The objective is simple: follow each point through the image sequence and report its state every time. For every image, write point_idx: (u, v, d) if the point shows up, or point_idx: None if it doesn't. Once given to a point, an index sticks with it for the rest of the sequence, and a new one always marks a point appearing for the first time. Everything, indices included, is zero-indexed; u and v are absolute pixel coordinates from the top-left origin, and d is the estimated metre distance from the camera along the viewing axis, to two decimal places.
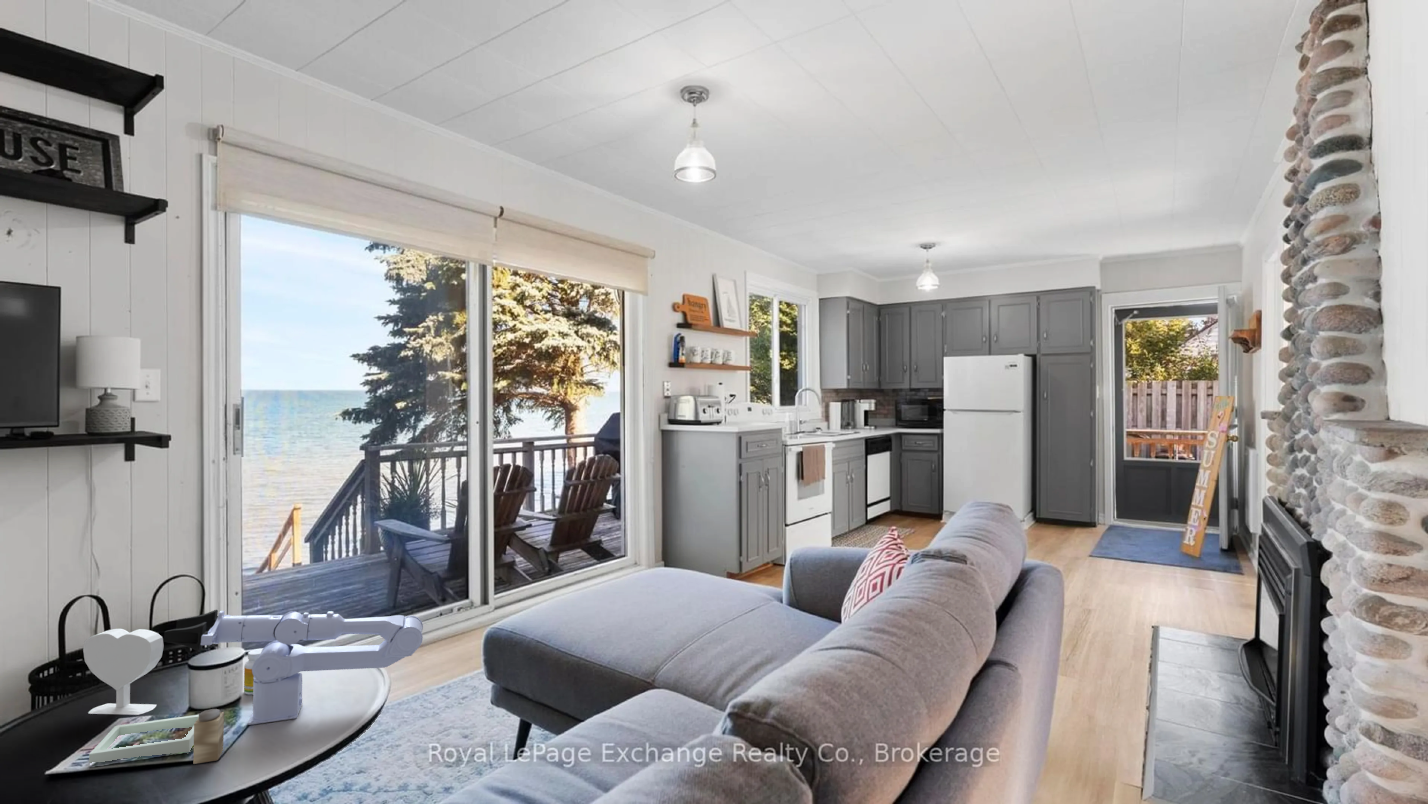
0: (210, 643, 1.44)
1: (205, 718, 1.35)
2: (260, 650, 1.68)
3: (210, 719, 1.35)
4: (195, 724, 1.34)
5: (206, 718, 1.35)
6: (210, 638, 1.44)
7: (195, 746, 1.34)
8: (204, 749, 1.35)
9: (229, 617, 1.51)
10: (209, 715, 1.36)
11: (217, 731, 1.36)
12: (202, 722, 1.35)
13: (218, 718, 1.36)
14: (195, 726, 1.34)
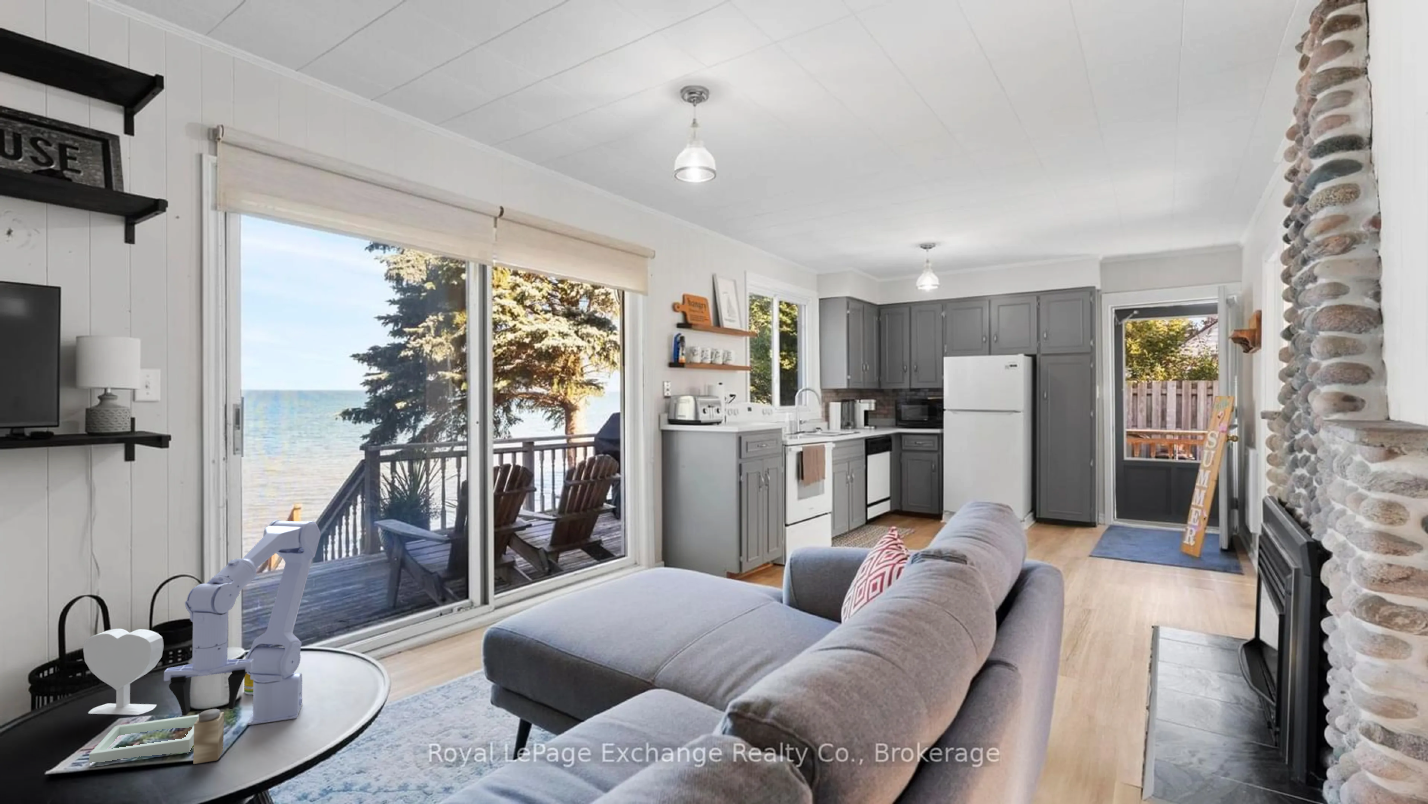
0: (253, 659, 1.40)
1: (205, 718, 1.35)
2: None
3: (210, 719, 1.35)
4: (195, 724, 1.34)
5: (206, 718, 1.35)
6: (252, 662, 1.39)
7: (195, 746, 1.34)
8: (204, 749, 1.35)
9: (209, 662, 1.34)
10: (209, 715, 1.36)
11: (217, 731, 1.36)
12: (202, 722, 1.35)
13: (218, 718, 1.36)
14: (195, 726, 1.34)
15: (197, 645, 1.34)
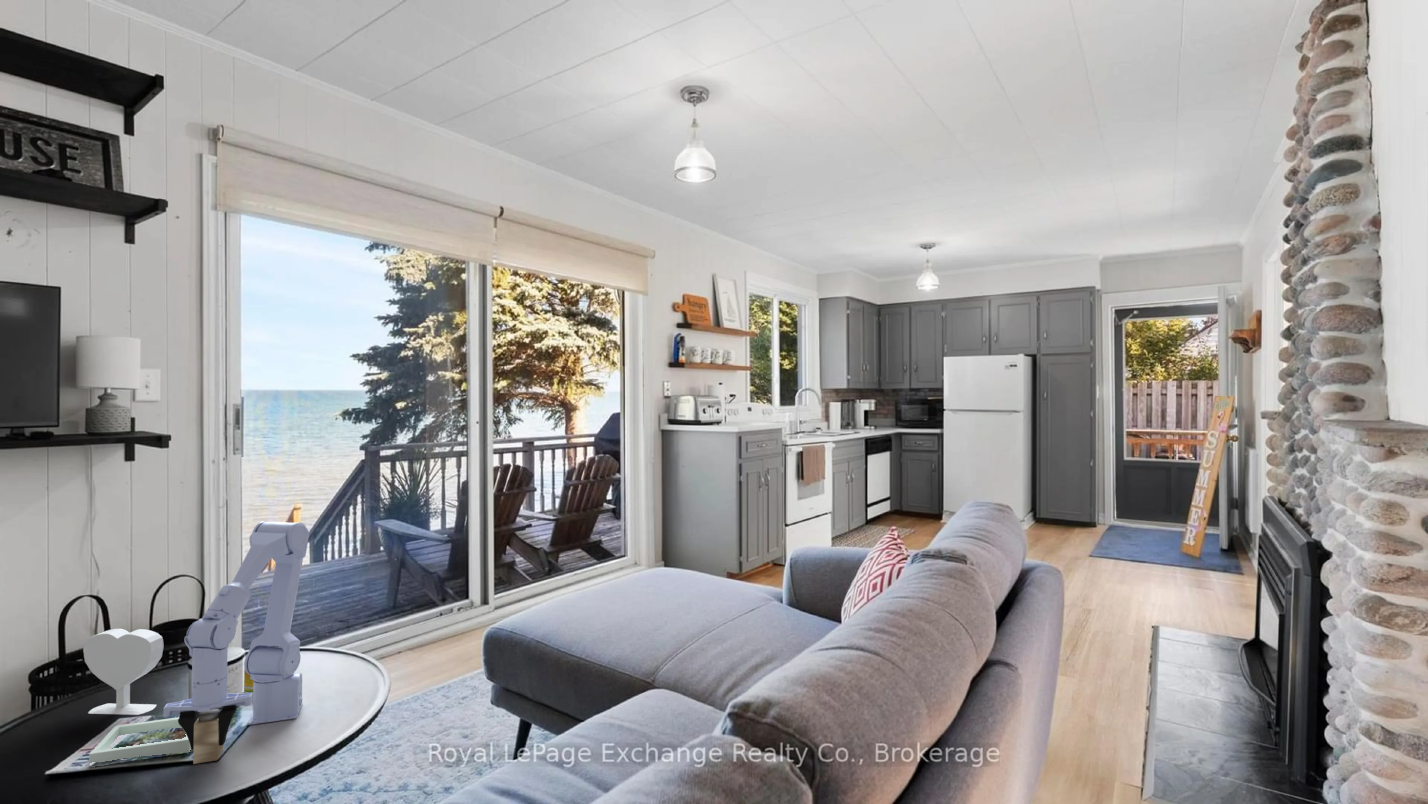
0: (252, 693, 1.40)
1: (205, 718, 1.35)
2: None
3: (210, 719, 1.35)
4: (195, 724, 1.34)
5: (206, 718, 1.35)
6: (251, 696, 1.39)
7: (195, 746, 1.34)
8: (204, 749, 1.35)
9: (208, 698, 1.34)
10: (209, 715, 1.36)
11: (217, 731, 1.36)
12: (202, 722, 1.35)
13: (218, 718, 1.36)
14: (195, 726, 1.34)
15: (196, 681, 1.34)
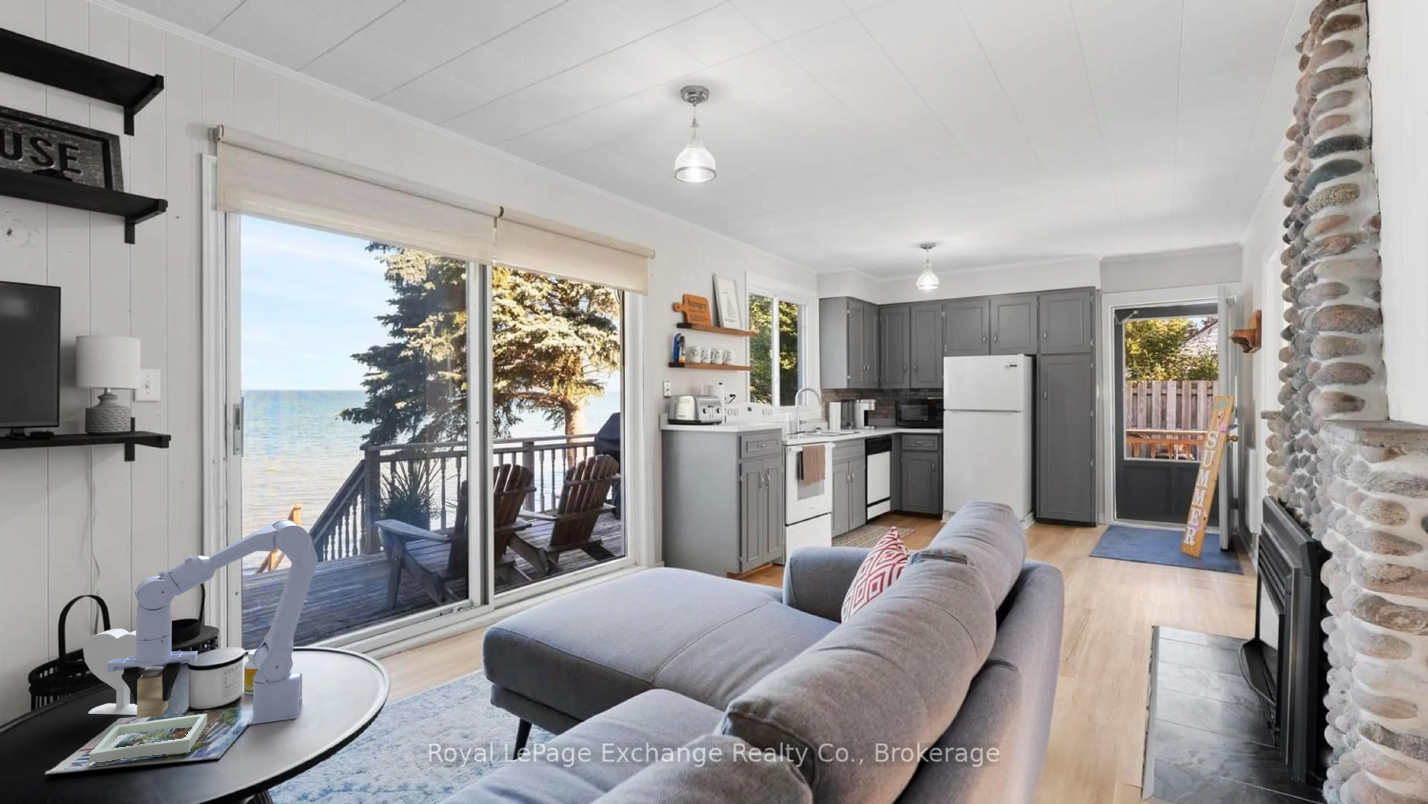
0: (197, 651, 1.44)
1: (149, 674, 1.39)
2: None
3: (154, 675, 1.39)
4: (138, 680, 1.38)
5: (150, 674, 1.39)
6: (195, 654, 1.43)
7: (138, 701, 1.38)
8: (148, 705, 1.38)
9: (152, 654, 1.38)
10: (153, 671, 1.39)
11: (160, 687, 1.39)
12: (145, 678, 1.38)
13: None
14: (138, 682, 1.38)
15: (136, 635, 1.38)
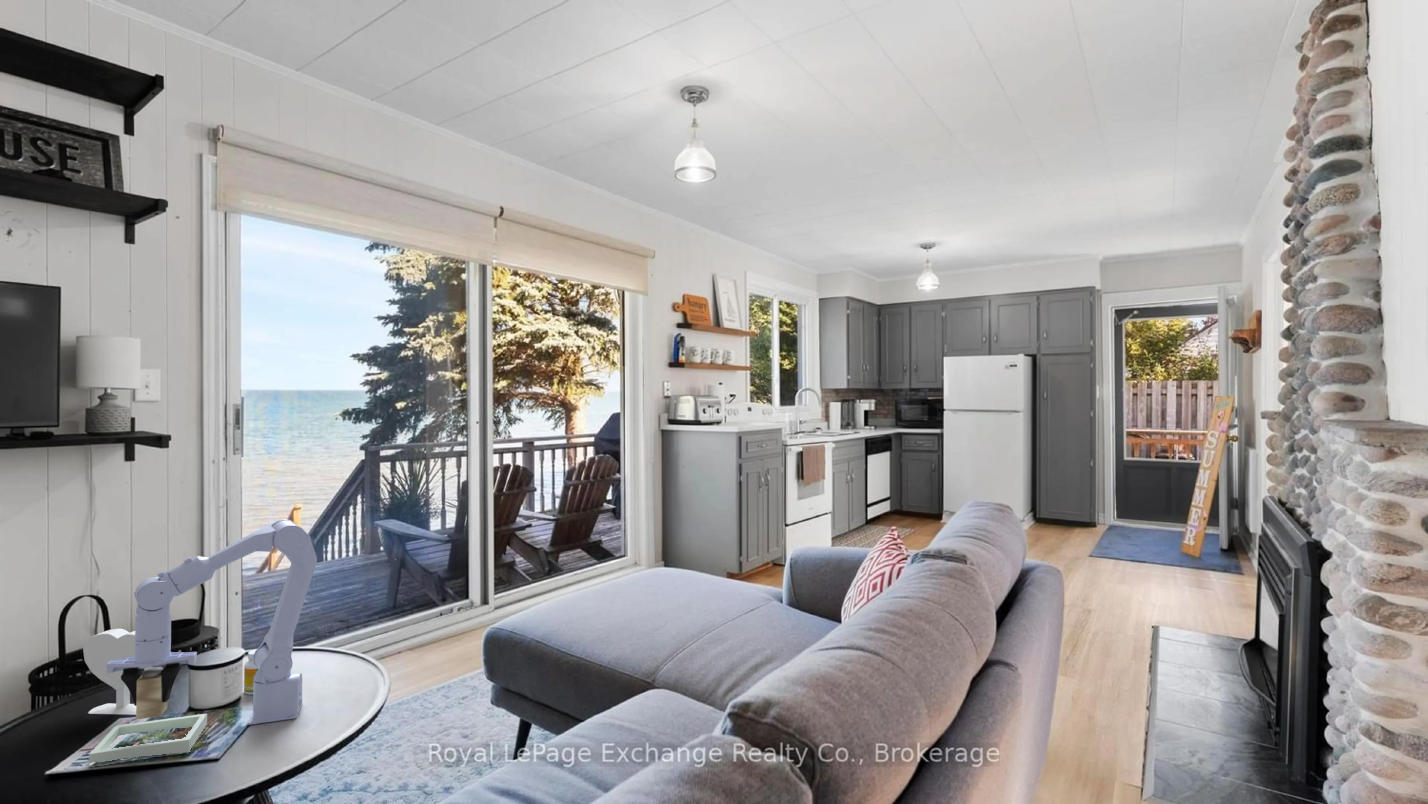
0: (196, 652, 1.44)
1: (148, 675, 1.39)
2: None
3: (153, 676, 1.39)
4: (138, 681, 1.38)
5: (149, 675, 1.39)
6: (194, 655, 1.43)
7: (138, 702, 1.38)
8: (147, 705, 1.38)
9: (151, 655, 1.38)
10: (152, 672, 1.39)
11: (160, 688, 1.39)
12: (145, 679, 1.38)
13: None
14: (138, 683, 1.38)
15: None
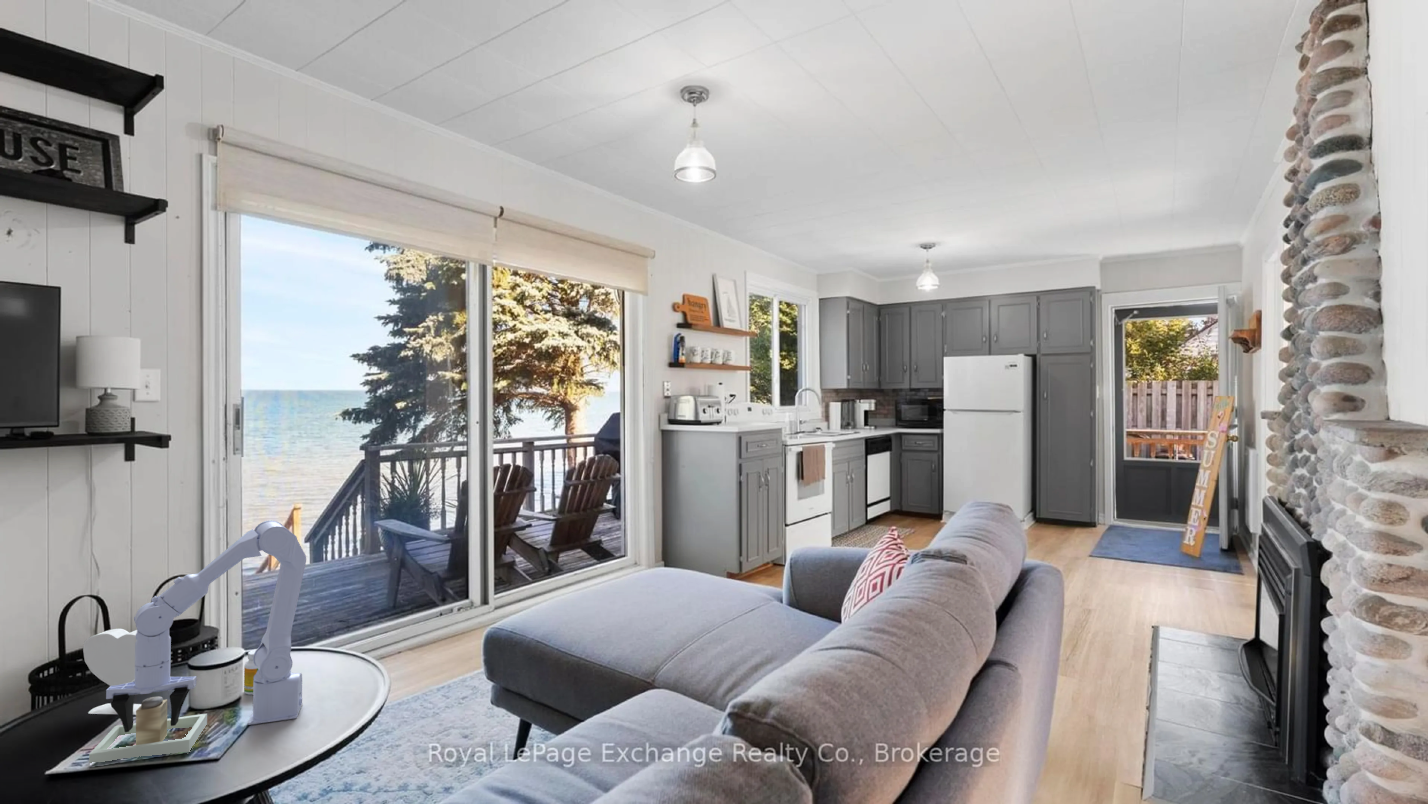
0: None
1: (147, 705, 1.39)
2: None
3: (152, 706, 1.39)
4: (137, 711, 1.38)
5: (148, 705, 1.39)
6: (194, 679, 1.43)
7: (137, 732, 1.38)
8: (147, 735, 1.38)
9: (151, 680, 1.38)
10: (151, 702, 1.39)
11: (159, 718, 1.39)
12: (144, 709, 1.38)
13: (160, 705, 1.40)
14: (137, 713, 1.38)
15: (135, 661, 1.39)
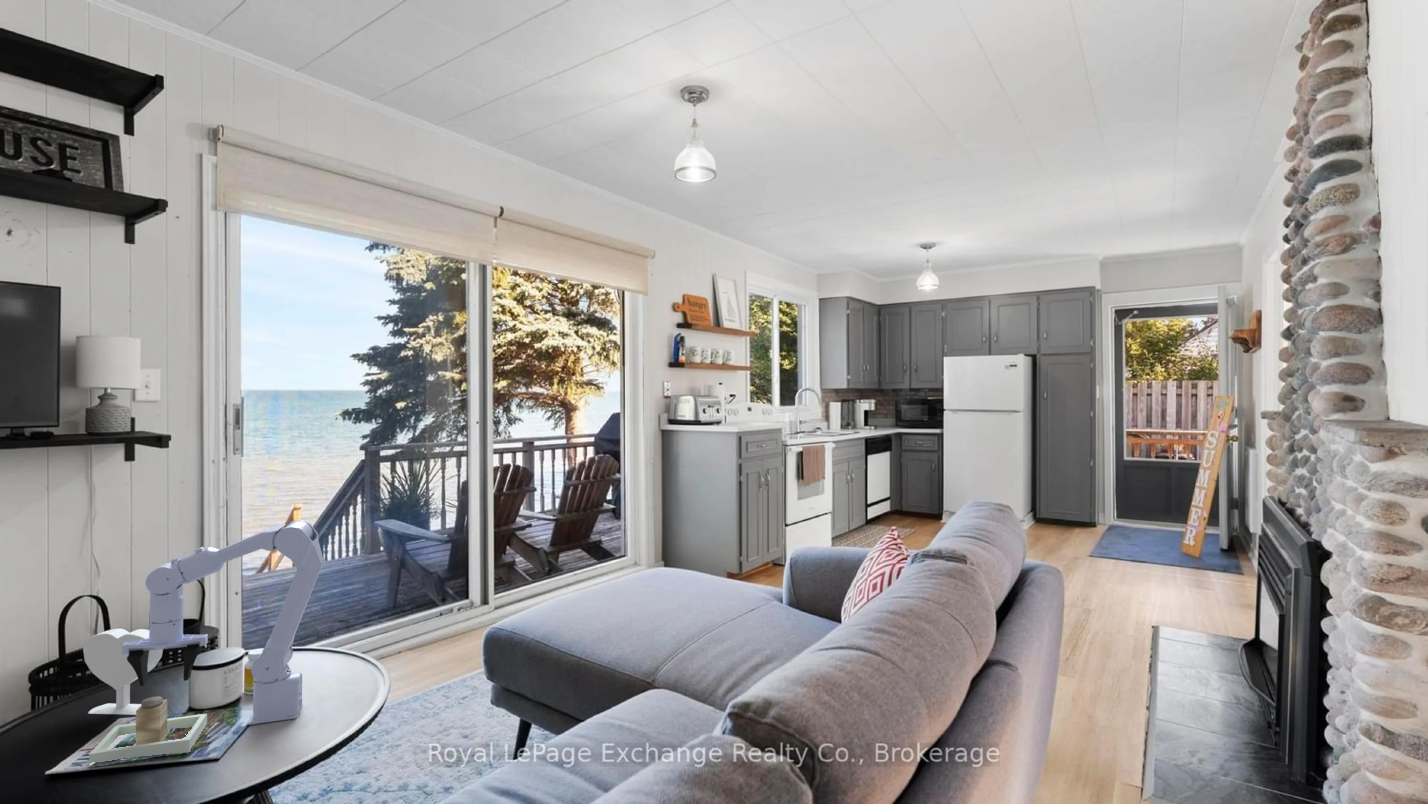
0: (207, 635, 1.51)
1: (147, 705, 1.39)
2: (260, 650, 1.68)
3: (152, 706, 1.39)
4: (137, 711, 1.38)
5: (148, 705, 1.39)
6: (206, 637, 1.50)
7: (137, 732, 1.38)
8: (147, 735, 1.38)
9: (165, 636, 1.45)
10: (151, 702, 1.39)
11: (159, 718, 1.39)
12: (144, 709, 1.38)
13: (160, 705, 1.40)
14: (137, 713, 1.38)
15: None
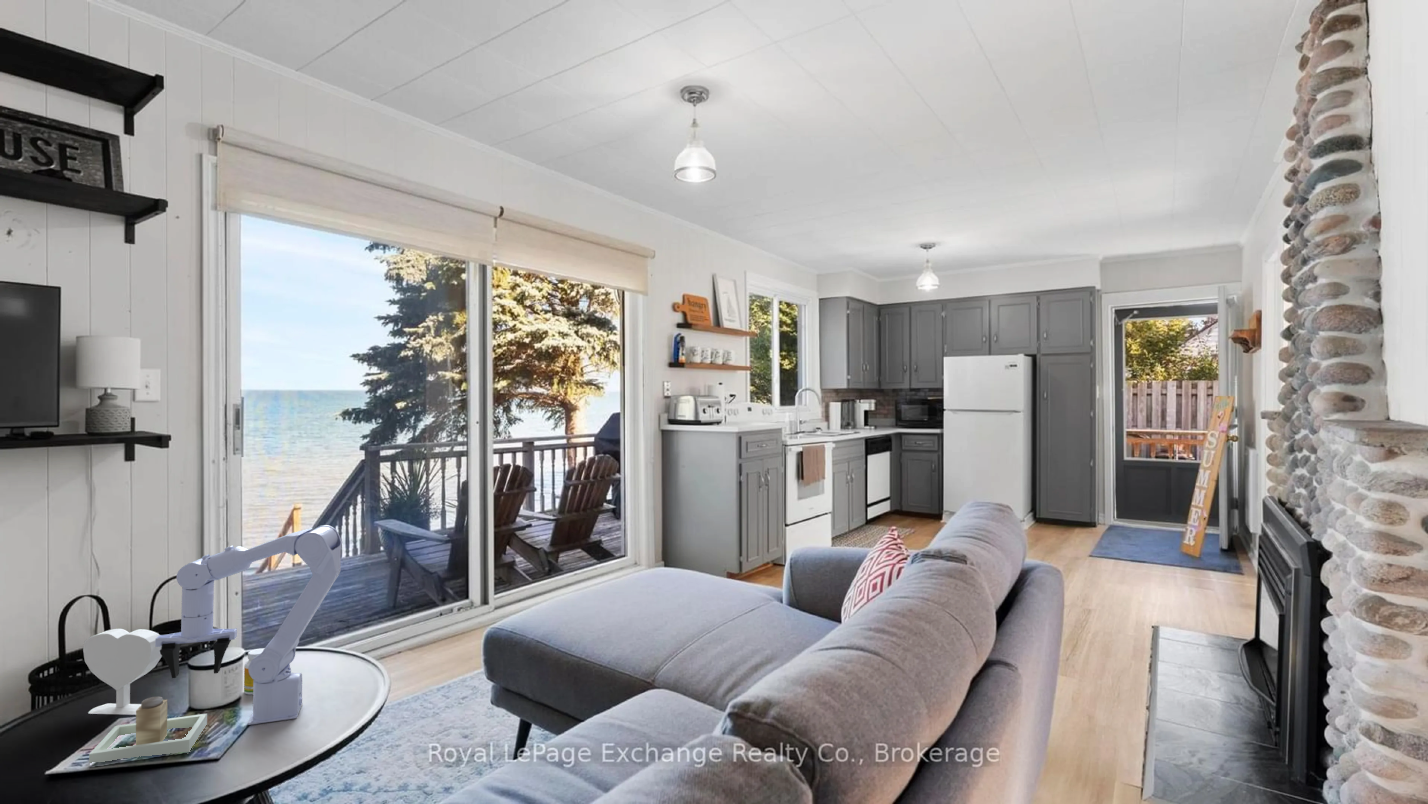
0: (236, 629, 1.55)
1: (147, 705, 1.39)
2: (260, 650, 1.68)
3: (152, 706, 1.39)
4: (137, 711, 1.38)
5: (148, 705, 1.39)
6: (235, 631, 1.54)
7: (137, 732, 1.38)
8: (147, 735, 1.38)
9: (196, 630, 1.49)
10: (151, 702, 1.39)
11: (159, 718, 1.39)
12: (144, 709, 1.38)
13: (160, 705, 1.40)
14: (137, 713, 1.38)
15: None
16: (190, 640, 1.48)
